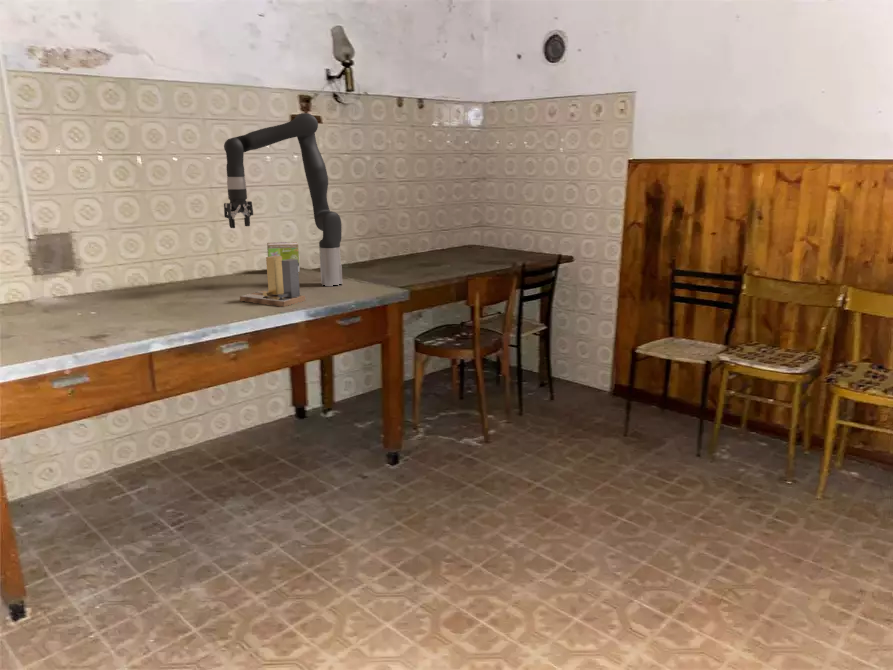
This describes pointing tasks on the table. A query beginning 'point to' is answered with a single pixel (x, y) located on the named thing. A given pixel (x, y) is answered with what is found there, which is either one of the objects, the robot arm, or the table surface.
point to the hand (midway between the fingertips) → (240, 227)
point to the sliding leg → (274, 276)
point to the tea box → (284, 250)
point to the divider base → (269, 302)
